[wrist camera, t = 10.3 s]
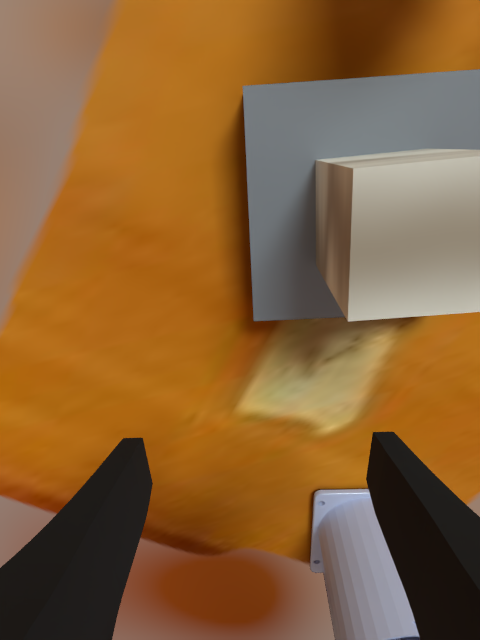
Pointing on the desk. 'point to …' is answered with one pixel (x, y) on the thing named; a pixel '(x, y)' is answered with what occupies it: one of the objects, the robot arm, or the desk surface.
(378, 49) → the desk surface
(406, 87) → the base block
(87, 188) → the desk surface
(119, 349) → the desk surface
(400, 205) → the cream block
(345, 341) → the desk surface
